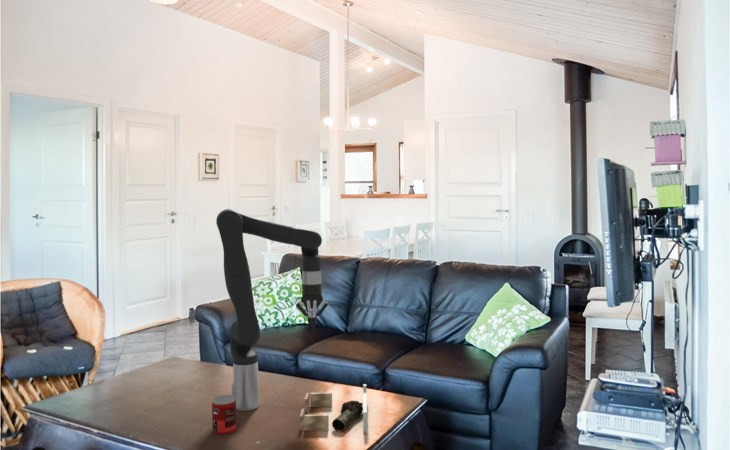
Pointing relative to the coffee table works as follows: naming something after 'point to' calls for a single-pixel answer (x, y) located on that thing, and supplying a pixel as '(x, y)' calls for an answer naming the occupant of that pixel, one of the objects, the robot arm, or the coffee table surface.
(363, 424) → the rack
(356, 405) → the dark elongated piece
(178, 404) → the coffee table surface
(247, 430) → the coffee table surface
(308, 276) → the robot arm
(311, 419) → the socket block
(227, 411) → the canned food
